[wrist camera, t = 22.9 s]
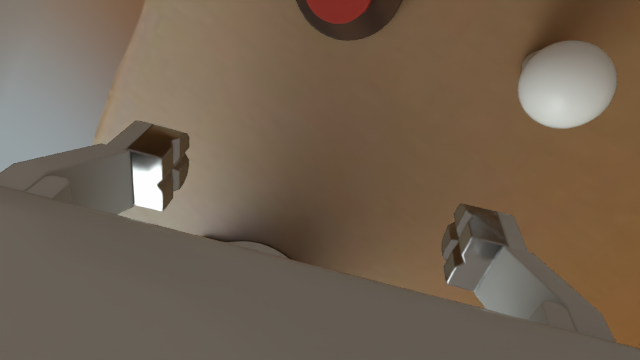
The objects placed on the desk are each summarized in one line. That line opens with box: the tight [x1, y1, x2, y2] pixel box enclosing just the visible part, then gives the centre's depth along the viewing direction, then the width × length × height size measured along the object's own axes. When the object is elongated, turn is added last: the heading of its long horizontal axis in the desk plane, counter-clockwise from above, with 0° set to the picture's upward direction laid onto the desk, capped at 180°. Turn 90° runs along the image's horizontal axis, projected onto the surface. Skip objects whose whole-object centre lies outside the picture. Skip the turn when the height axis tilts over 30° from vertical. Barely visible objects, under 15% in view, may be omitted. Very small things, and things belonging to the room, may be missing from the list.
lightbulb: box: [518, 40, 617, 128], centre depth 33 cm, size 6×6×11 cm
